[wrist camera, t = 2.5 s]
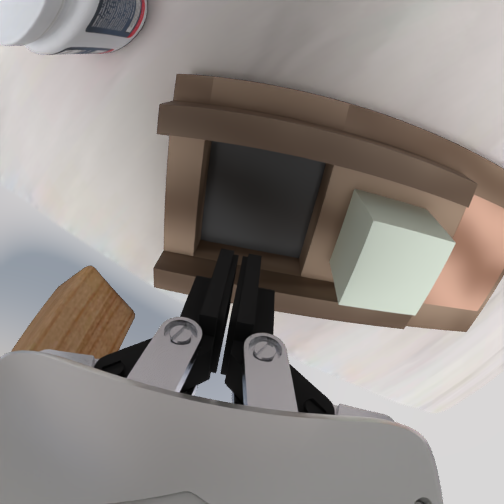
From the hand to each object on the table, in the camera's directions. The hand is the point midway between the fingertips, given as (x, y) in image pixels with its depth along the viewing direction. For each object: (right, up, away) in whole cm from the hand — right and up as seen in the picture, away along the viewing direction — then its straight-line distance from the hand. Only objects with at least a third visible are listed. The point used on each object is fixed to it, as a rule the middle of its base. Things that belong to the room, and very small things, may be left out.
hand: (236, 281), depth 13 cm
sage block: (+8, +2, +5) cm, 10 cm away
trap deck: (+9, +4, +7) cm, 12 cm away
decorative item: (-14, -3, +14) cm, 20 cm away
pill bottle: (-8, +16, +1) cm, 18 cm away
